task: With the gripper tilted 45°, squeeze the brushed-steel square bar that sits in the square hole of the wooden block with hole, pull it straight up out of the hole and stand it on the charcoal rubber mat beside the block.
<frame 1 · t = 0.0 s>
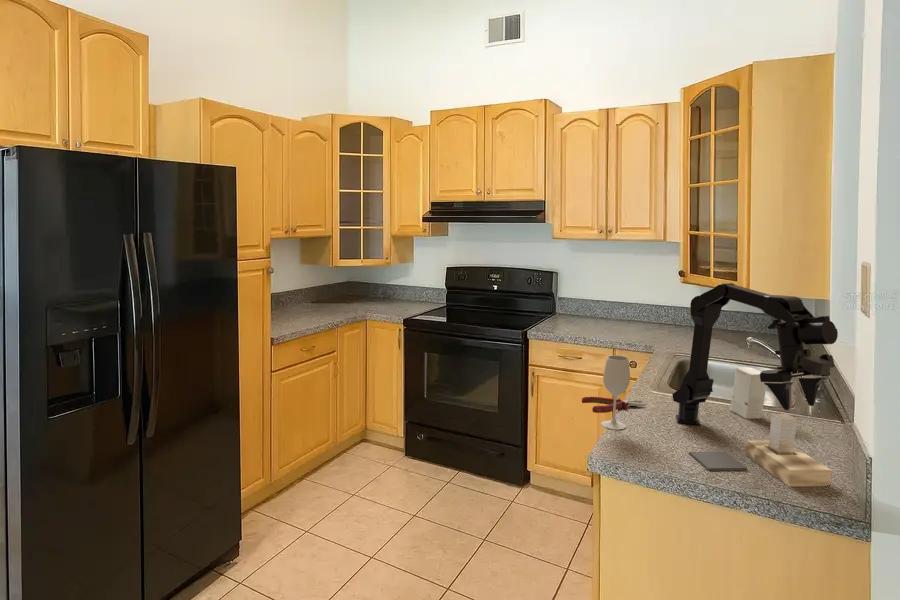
hand: (799, 407, 143), 15 cm above the worktop, tool pointing down, fingers open, 9 cm apart
wooden block with hole: (785, 469, 143), on the worktop
pliers: (614, 410, 188), on the worktop
rubber mat: (717, 461, 147), on the worktop
skincare box: (746, 415, 184), on the worktop
wineglass: (613, 426, 172), on the worktop
steel bar: (778, 465, 146), resting in wooden block with hole
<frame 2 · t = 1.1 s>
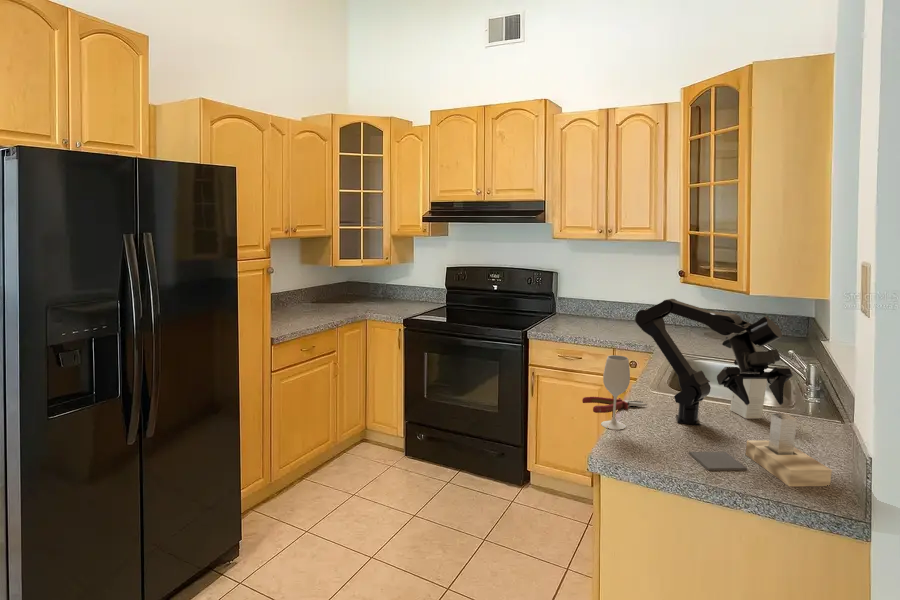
hand: (765, 404, 152), 14 cm above the worktop, tool tilted 45°, fingers open, 9 cm apart
nothing on the worktop moved.
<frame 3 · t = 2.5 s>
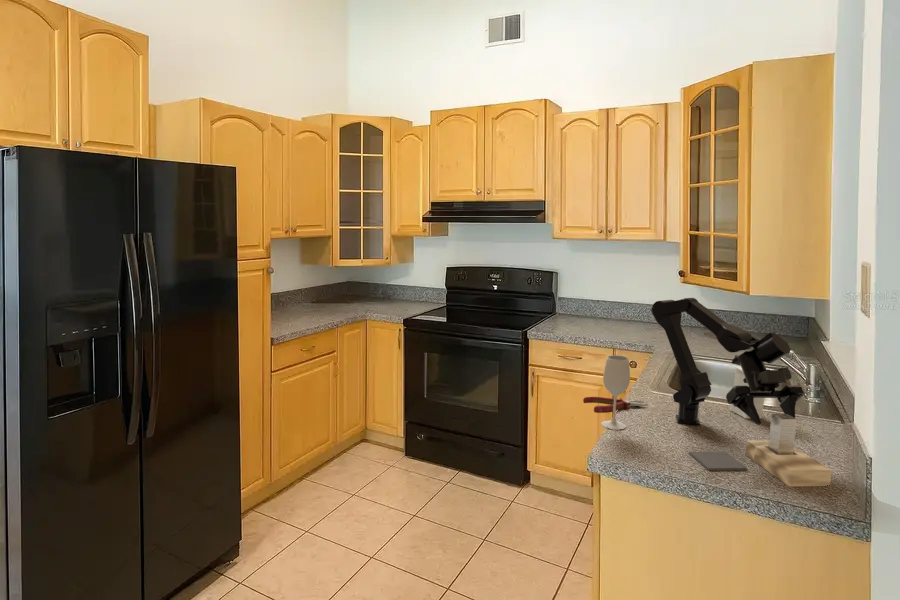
hand: (776, 424, 147), 10 cm above the worktop, tool tilted 45°, fingers open, 9 cm apart
nothing on the worktop moved.
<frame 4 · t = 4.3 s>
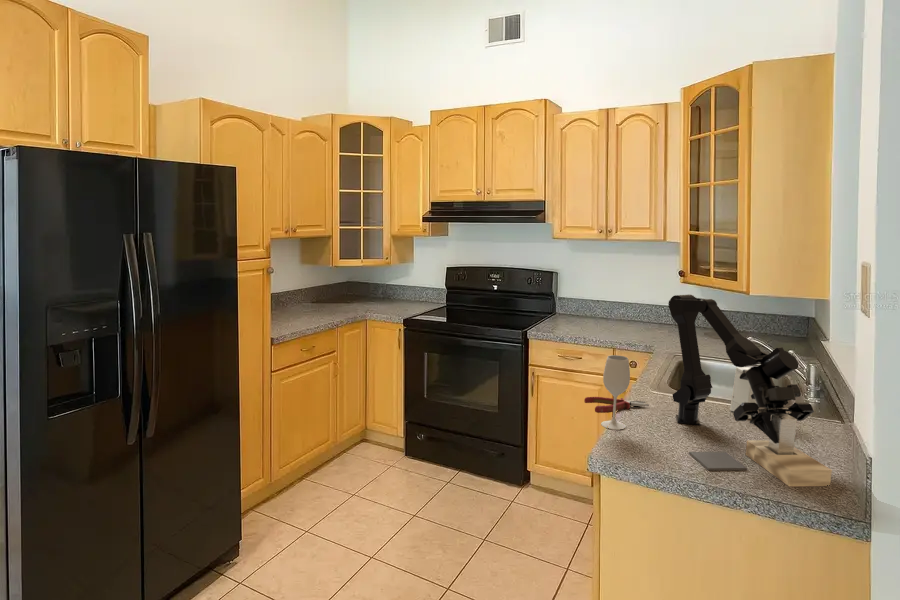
hand: (785, 442, 144), 7 cm above the worktop, tool tilted 45°, fingers closed on steel bar, 4 cm apart
steel bar: (778, 465, 146), resting in wooden block with hole, touching gripper
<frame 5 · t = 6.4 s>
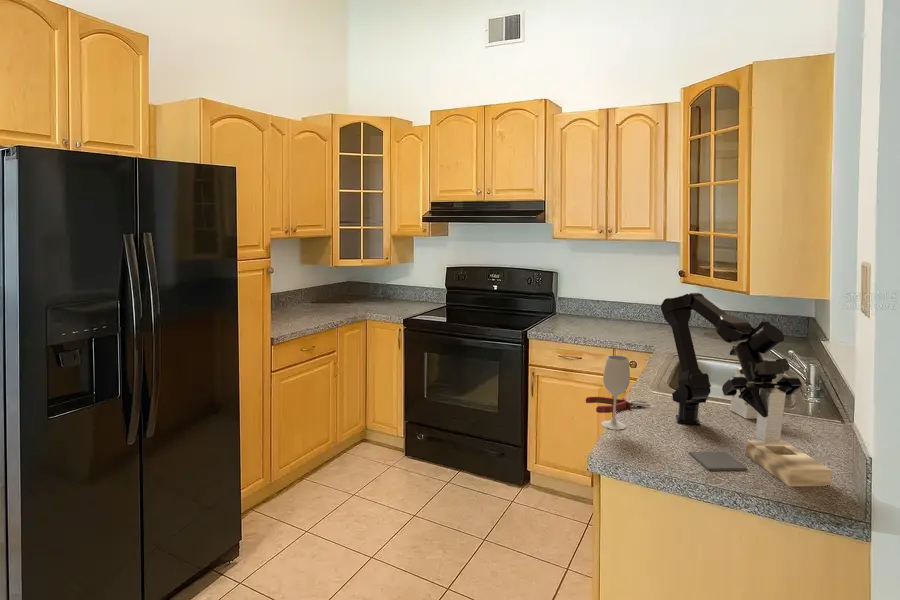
hand: (773, 416, 143), 13 cm above the worktop, tool tilted 45°, fingers closed on steel bar, 4 cm apart
steel bar: (767, 439, 145), point 7 cm above the worktop, touching gripper
when the fingers open (8 cm above the worktop, at t = 8.8 s): steel bar drops 1 cm, resting on rubber mat.
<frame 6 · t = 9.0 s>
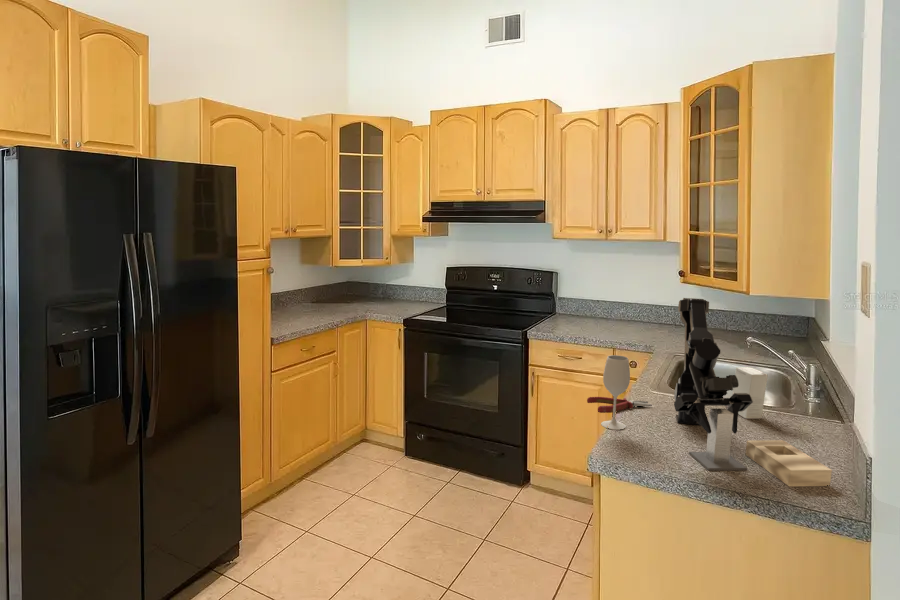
hand: (722, 432, 145), 8 cm above the worktop, tool tilted 45°, fingers open, 6 cm apart
steel bar: (717, 459, 147), point 1 cm above the worktop, touching rubber mat
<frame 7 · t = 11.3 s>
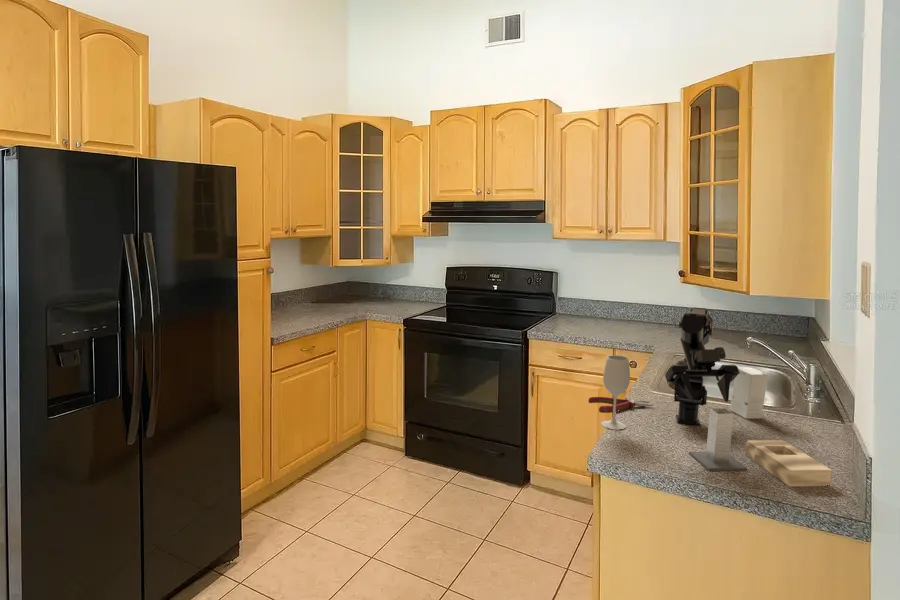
hand: (710, 401, 154), 13 cm above the worktop, tool tilted 45°, fingers open, 9 cm apart
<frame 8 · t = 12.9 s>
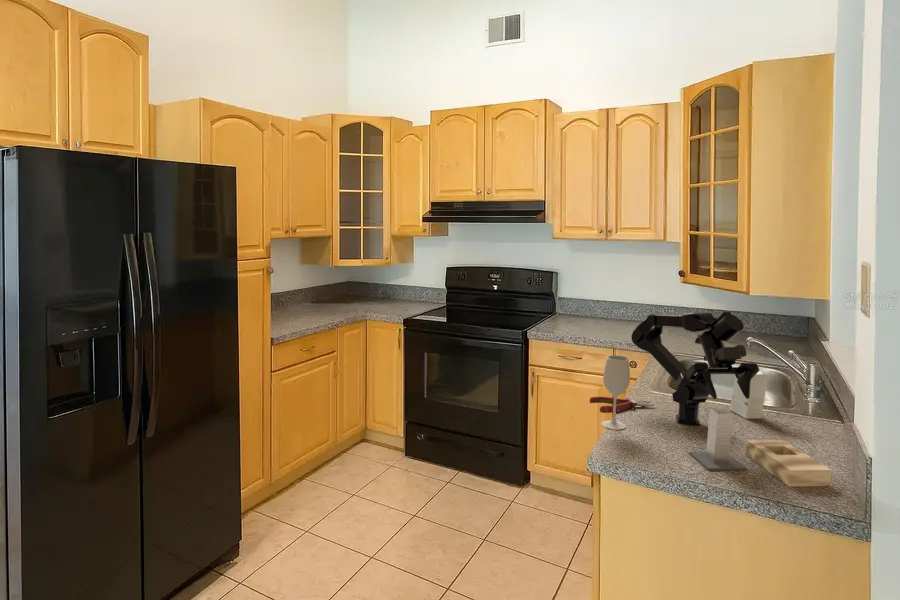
hand: (731, 398, 156), 14 cm above the worktop, tool tilted 45°, fingers open, 9 cm apart
at the end: steel bar inside the target area on the rubber mat (0.0 cm from its centre), point 0.6 cm above the rubber mat's base; steel bar tilted 0°; the gripper is holding nothing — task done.
